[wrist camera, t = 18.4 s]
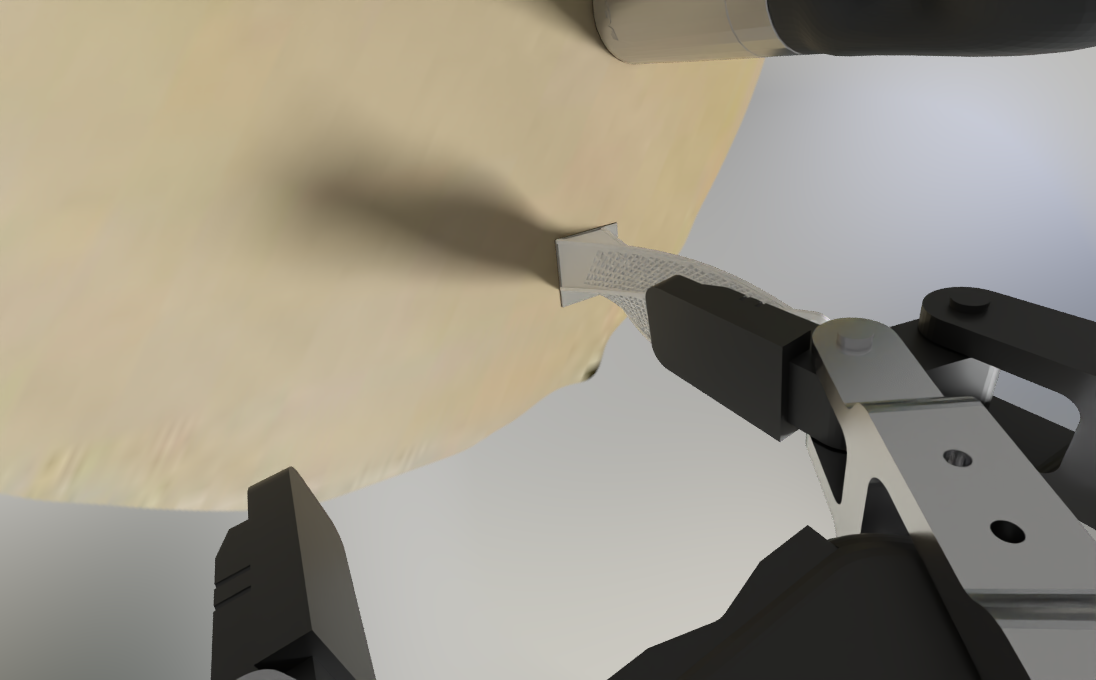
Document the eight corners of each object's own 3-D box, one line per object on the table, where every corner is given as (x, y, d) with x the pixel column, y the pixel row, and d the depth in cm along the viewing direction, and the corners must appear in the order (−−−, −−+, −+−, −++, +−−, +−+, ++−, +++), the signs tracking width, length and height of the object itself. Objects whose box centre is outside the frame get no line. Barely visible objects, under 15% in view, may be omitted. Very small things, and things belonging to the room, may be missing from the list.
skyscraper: (548, 310, 52) (782, 476, 30) (538, 231, 48) (801, 355, 26) (617, 286, 55) (876, 420, 33) (613, 210, 51) (905, 305, 29)
